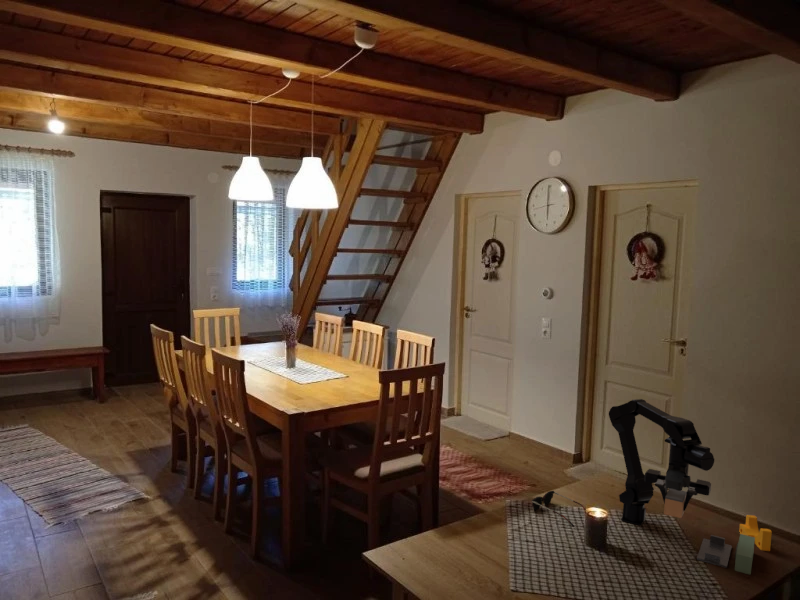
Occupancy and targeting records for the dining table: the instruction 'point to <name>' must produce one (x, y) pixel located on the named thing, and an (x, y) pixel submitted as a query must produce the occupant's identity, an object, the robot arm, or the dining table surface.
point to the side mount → (715, 551)
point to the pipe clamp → (756, 533)
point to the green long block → (744, 554)
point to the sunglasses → (546, 500)
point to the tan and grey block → (674, 503)
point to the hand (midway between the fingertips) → (675, 508)
